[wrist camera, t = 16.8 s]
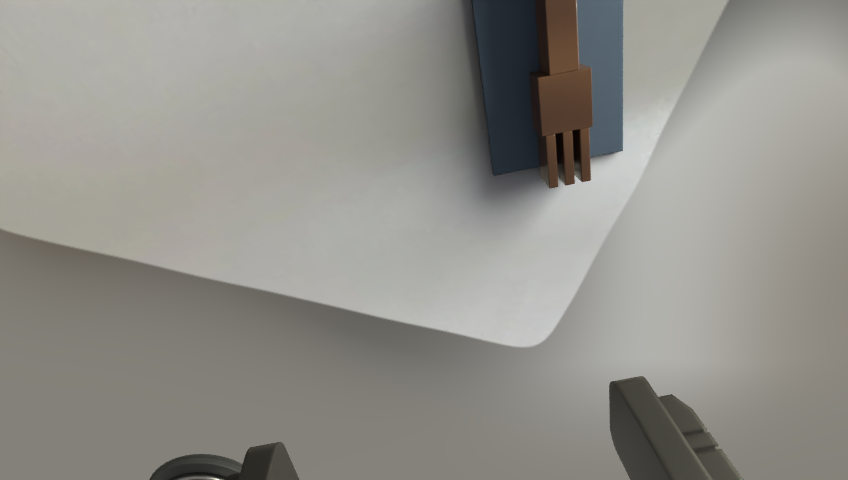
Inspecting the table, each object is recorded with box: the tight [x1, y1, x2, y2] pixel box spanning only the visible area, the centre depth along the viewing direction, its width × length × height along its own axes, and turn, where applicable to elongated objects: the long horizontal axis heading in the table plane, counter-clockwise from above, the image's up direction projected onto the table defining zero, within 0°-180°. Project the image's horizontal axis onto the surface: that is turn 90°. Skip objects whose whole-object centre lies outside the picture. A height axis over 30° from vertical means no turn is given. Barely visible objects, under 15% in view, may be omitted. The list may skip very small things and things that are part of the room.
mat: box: [472, 0, 623, 176], centre depth 35 cm, size 18×10×1 cm, turn 10°
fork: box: [529, 0, 593, 188], centre depth 34 cm, size 18×4×2 cm, turn 10°
